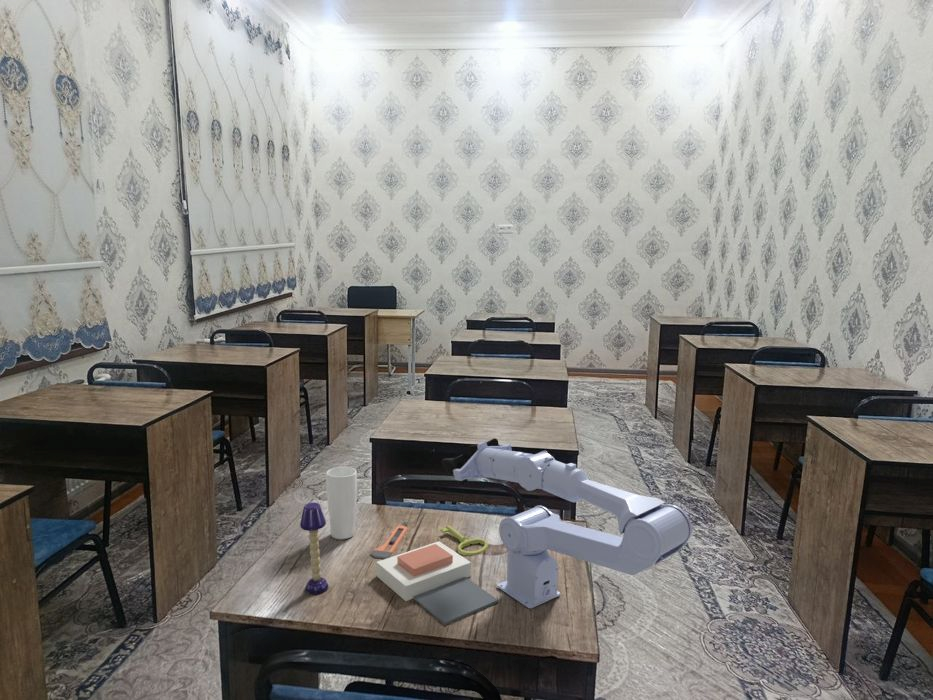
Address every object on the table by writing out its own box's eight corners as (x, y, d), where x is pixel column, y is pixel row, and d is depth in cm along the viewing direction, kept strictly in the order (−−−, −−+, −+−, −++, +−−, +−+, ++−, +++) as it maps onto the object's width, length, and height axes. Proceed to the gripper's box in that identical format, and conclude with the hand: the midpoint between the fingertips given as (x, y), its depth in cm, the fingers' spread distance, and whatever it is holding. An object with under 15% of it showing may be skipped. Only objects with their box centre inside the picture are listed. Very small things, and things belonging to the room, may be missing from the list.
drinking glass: (321, 539, 138) (319, 475, 136) (336, 526, 144) (335, 464, 142) (349, 544, 136) (348, 478, 134) (363, 530, 142) (362, 468, 140)
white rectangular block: (470, 576, 123) (470, 562, 123) (405, 601, 114) (405, 586, 114) (439, 554, 132) (439, 541, 132) (376, 576, 123) (376, 561, 123)
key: (447, 532, 143) (447, 523, 143) (492, 547, 136) (492, 538, 136) (427, 544, 137) (427, 535, 137) (473, 561, 130) (473, 551, 130)
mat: (498, 602, 114) (498, 599, 114) (444, 625, 107) (444, 622, 107) (465, 579, 122) (465, 576, 122) (413, 599, 115) (413, 596, 115)
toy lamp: (302, 596, 116) (299, 511, 113) (302, 583, 120) (299, 501, 117) (329, 592, 117) (326, 508, 114) (327, 580, 121) (325, 498, 119)
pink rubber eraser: (452, 562, 123) (452, 555, 122) (413, 576, 117) (413, 569, 117) (435, 550, 127) (435, 543, 127) (397, 563, 122) (397, 556, 122)
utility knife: (368, 554, 130) (394, 518, 148) (368, 559, 130) (394, 522, 148) (388, 557, 130) (412, 520, 147) (388, 561, 130) (412, 524, 147)
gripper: (523, 432, 124) (477, 427, 135) (470, 459, 115) (426, 451, 125) (530, 465, 125) (484, 458, 136) (478, 494, 116) (433, 484, 126)
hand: (456, 457), depth 130 cm, fingers open, 7 cm apart
